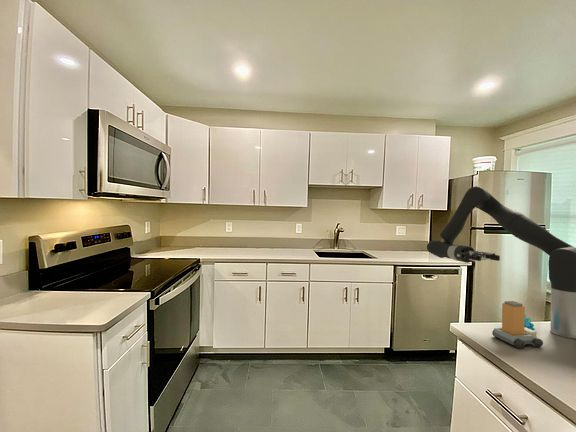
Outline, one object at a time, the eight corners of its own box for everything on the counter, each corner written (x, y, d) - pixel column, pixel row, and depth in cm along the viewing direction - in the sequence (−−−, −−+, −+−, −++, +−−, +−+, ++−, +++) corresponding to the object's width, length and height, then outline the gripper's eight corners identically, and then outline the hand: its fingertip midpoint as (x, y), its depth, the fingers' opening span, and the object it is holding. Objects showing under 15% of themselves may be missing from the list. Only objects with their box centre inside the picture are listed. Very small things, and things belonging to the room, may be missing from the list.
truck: (517, 335, 111) (517, 324, 111) (543, 347, 101) (543, 334, 101) (491, 337, 109) (491, 325, 109) (515, 349, 99) (515, 336, 99)
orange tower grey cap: (501, 333, 107) (502, 301, 107) (512, 333, 107) (513, 300, 107) (513, 339, 102) (513, 304, 102) (524, 338, 103) (524, 304, 103)
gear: (526, 331, 111) (507, 307, 118) (513, 338, 115) (496, 314, 122) (542, 330, 116) (524, 307, 122) (529, 337, 119) (512, 314, 126)
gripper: (446, 245, 134) (474, 249, 118) (474, 245, 136) (505, 249, 120) (446, 261, 134) (473, 267, 118) (474, 261, 136) (505, 267, 120)
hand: (489, 258), depth 119 cm, fingers open, 8 cm apart
